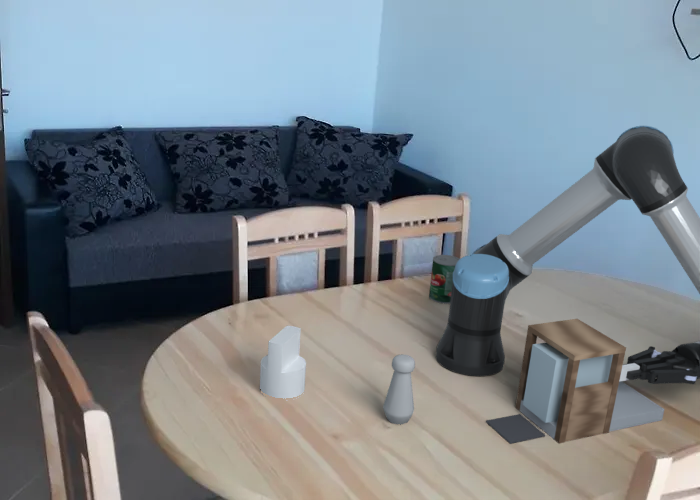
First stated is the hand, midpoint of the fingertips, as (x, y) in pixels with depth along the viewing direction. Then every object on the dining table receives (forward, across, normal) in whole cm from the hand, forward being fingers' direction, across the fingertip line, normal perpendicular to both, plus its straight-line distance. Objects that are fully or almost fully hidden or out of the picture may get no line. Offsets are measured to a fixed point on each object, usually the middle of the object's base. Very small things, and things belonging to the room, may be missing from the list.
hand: (611, 375), depth 154 cm
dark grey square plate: (+22, 0, -8) cm, 23 cm away
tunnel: (+11, 0, -8) cm, 13 cm away
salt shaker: (+42, +10, -8) cm, 44 cm away
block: (+11, 0, -6) cm, 12 cm away
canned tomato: (+1, +62, -8) cm, 63 cm away
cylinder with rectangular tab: (+59, +27, -8) cm, 65 cm away
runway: (+4, 0, -8) cm, 9 cm away
